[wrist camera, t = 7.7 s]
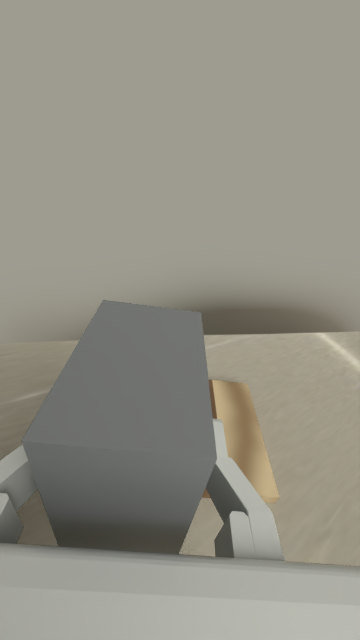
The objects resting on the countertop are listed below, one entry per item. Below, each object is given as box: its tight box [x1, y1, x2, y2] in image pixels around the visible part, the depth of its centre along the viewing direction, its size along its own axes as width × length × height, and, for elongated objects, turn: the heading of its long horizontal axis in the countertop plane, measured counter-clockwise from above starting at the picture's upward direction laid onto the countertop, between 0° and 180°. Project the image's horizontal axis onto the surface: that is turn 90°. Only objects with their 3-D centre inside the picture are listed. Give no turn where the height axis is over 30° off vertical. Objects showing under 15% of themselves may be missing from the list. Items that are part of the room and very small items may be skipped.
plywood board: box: [202, 380, 279, 503], centre depth 29 cm, size 14×14×1 cm
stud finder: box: [22, 300, 217, 554], centre depth 10 cm, size 4×6×10 cm
